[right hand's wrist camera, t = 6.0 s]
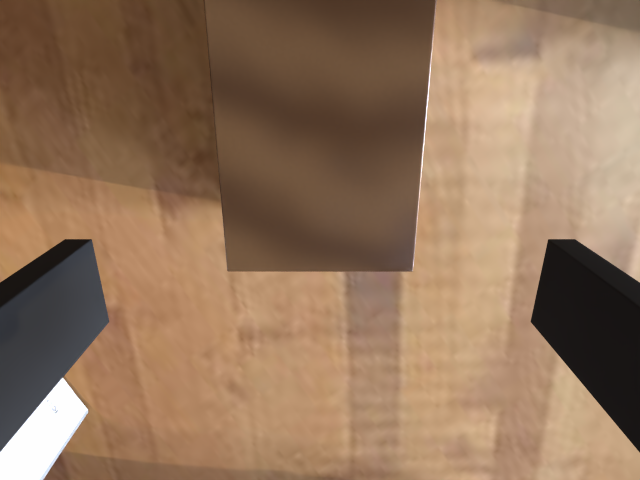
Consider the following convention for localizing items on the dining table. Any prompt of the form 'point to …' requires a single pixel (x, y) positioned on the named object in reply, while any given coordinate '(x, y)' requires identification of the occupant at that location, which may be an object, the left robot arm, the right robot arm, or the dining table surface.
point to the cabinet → (320, 130)
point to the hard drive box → (42, 436)
